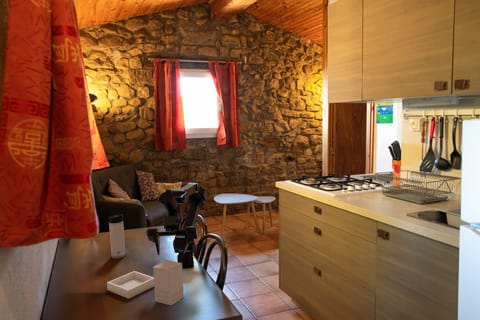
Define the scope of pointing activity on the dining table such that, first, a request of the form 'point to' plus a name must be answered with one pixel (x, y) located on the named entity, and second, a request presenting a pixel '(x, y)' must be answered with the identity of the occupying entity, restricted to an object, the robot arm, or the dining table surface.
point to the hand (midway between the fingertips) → (170, 254)
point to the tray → (130, 284)
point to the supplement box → (168, 282)
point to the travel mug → (117, 236)
